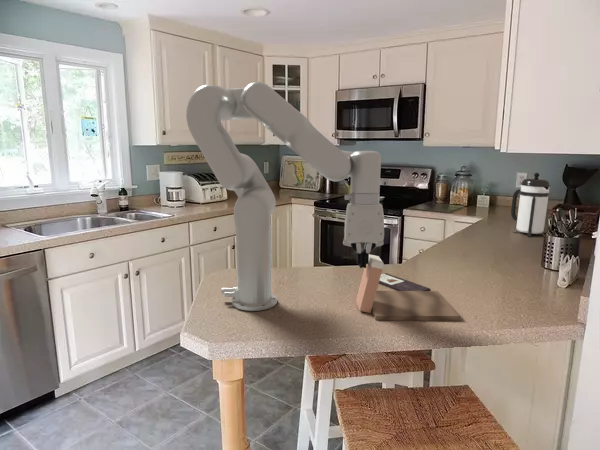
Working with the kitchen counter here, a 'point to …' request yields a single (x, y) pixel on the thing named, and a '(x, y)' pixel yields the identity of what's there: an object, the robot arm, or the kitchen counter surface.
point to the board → (412, 306)
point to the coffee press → (531, 205)
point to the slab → (369, 283)
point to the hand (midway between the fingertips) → (362, 266)
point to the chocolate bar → (400, 283)
